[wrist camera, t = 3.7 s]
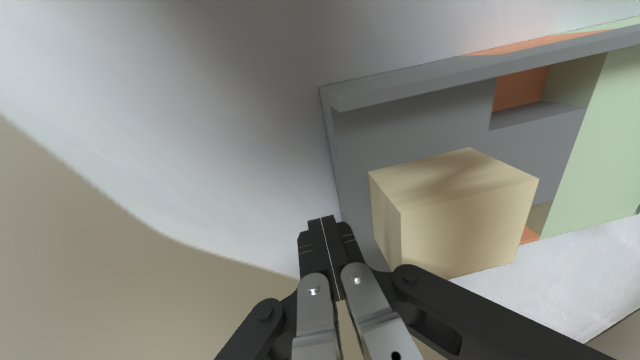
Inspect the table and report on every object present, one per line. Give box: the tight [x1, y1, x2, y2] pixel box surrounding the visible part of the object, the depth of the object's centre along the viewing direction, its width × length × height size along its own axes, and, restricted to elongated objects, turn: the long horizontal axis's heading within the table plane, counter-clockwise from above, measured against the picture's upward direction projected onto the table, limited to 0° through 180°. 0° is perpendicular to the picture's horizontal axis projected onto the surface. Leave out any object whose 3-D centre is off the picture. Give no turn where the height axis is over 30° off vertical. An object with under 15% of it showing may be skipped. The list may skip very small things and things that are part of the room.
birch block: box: [368, 147, 539, 280], centre depth 12 cm, size 6×5×4 cm
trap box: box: [319, 16, 640, 272], centre depth 15 cm, size 23×14×5 cm, turn 101°
